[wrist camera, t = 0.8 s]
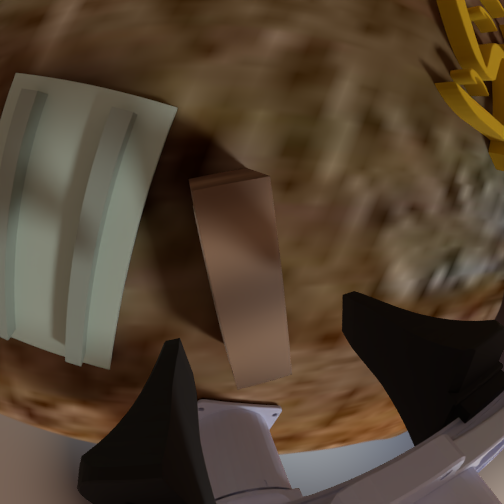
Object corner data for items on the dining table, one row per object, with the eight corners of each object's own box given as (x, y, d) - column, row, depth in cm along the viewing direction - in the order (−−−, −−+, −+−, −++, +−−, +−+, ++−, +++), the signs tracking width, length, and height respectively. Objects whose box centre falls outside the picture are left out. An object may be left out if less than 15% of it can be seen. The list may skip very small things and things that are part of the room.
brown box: (270, 330, 22) (292, 374, 18) (223, 342, 22) (236, 389, 17) (246, 167, 18) (271, 176, 13) (187, 178, 17) (190, 191, 13)
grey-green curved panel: (111, 361, 20) (106, 383, 17) (-10, 319, 16) (-23, 336, 14) (177, 109, 15) (177, 104, 13) (23, 75, 12) (4, 68, 9)
